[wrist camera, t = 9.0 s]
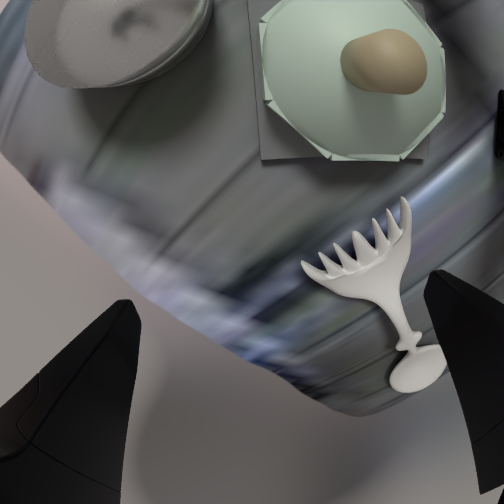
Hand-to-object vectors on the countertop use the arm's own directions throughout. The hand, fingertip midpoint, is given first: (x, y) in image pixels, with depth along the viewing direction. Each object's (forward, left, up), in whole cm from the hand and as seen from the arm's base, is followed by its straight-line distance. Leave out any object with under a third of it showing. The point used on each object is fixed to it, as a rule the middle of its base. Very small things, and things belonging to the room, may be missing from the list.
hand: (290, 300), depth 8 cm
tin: (+7, -12, -12) cm, 18 cm away
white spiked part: (-14, +17, -12) cm, 25 cm away
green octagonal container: (-6, -7, -11) cm, 15 cm away
